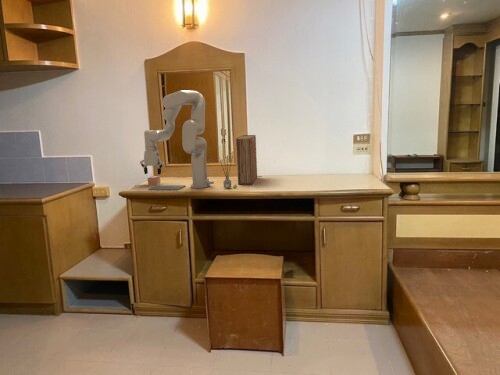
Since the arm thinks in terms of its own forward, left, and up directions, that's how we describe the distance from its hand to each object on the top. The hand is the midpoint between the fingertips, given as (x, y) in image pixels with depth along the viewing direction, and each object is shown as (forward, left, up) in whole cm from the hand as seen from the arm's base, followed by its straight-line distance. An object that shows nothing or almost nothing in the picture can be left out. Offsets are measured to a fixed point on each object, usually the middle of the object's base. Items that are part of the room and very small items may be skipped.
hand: (152, 173), depth 265 cm
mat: (-17, +15, -7) cm, 23 cm away
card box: (-1, 0, -7) cm, 7 cm away
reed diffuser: (-57, +12, -7) cm, 58 cm away
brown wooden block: (-64, -11, -7) cm, 65 cm away
